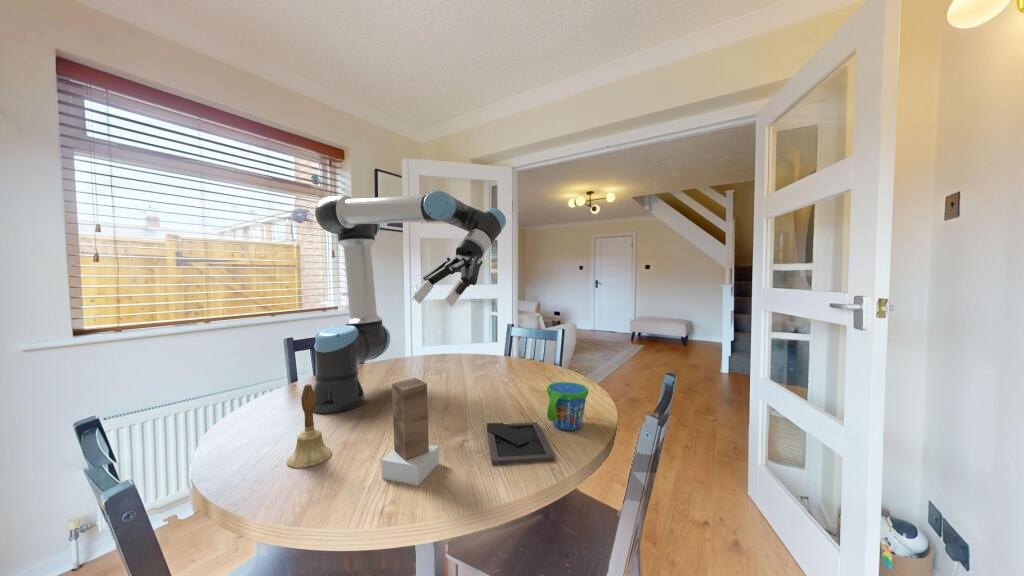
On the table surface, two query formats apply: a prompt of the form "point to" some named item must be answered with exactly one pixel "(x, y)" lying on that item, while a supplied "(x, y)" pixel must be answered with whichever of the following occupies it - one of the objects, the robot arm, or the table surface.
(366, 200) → the robot arm
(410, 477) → the white block
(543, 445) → the picture frame
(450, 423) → the table surface
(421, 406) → the walnut block
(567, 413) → the snack cup
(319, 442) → the hand bell
